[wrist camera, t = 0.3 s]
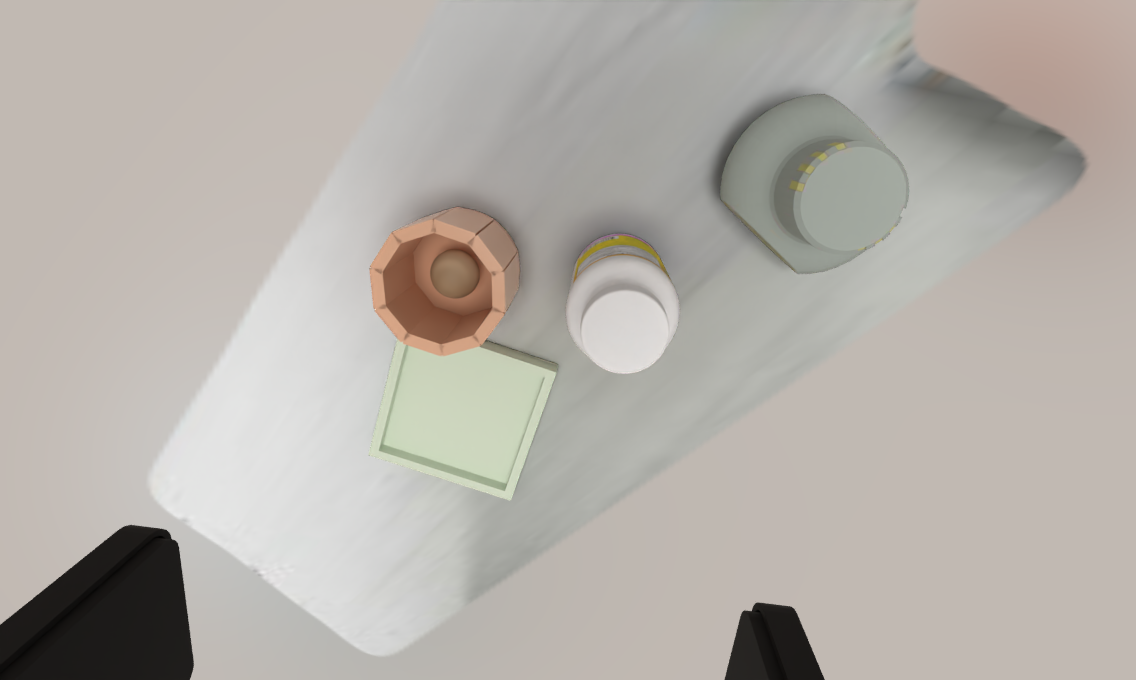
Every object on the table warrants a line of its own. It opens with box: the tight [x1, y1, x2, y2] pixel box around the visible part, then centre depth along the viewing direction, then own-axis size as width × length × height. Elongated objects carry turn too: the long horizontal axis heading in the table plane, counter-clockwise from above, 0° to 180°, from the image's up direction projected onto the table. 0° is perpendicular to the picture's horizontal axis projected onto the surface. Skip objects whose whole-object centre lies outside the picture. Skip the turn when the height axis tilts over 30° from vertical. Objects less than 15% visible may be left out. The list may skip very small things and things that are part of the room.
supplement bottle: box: [566, 234, 680, 374], centre depth 37 cm, size 7×7×13 cm
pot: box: [369, 207, 520, 356], centre depth 40 cm, size 8×9×7 cm
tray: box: [369, 338, 558, 501], centre depth 46 cm, size 12×12×2 cm
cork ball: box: [430, 249, 480, 299], centre depth 41 cm, size 3×3×3 cm
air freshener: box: [720, 94, 909, 274], centre depth 35 cm, size 11×8×10 cm
